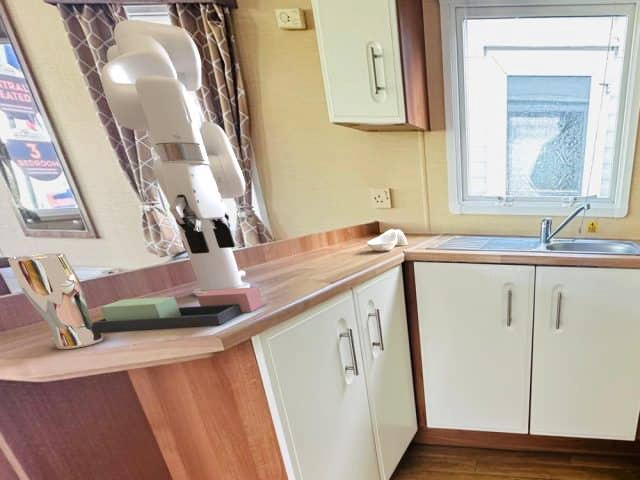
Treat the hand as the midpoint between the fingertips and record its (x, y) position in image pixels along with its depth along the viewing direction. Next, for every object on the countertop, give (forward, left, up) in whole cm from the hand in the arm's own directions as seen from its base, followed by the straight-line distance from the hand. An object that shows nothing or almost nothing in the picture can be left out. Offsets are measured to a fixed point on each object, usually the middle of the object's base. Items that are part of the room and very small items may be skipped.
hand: (214, 250), depth 87 cm
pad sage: (+7, -13, -12) cm, 19 cm away
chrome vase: (+19, -17, -13) cm, 28 cm away
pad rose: (0, 0, -13) cm, 13 cm away
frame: (+8, -8, -13) cm, 17 cm away
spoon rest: (-94, +18, -13) cm, 97 cm away
